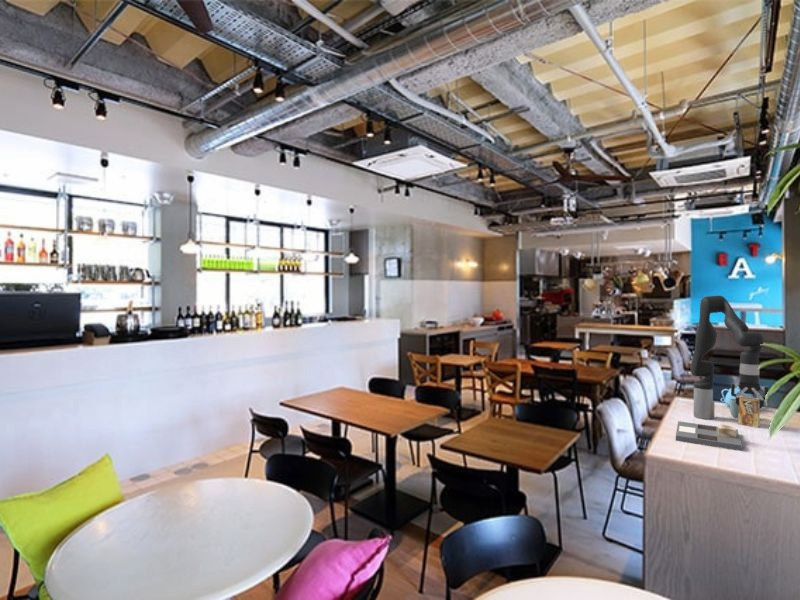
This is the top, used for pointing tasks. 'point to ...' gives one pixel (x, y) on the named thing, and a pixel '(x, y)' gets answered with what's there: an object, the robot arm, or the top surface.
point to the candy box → (748, 411)
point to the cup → (733, 408)
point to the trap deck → (706, 436)
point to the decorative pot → (728, 396)
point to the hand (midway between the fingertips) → (749, 406)
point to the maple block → (726, 431)
